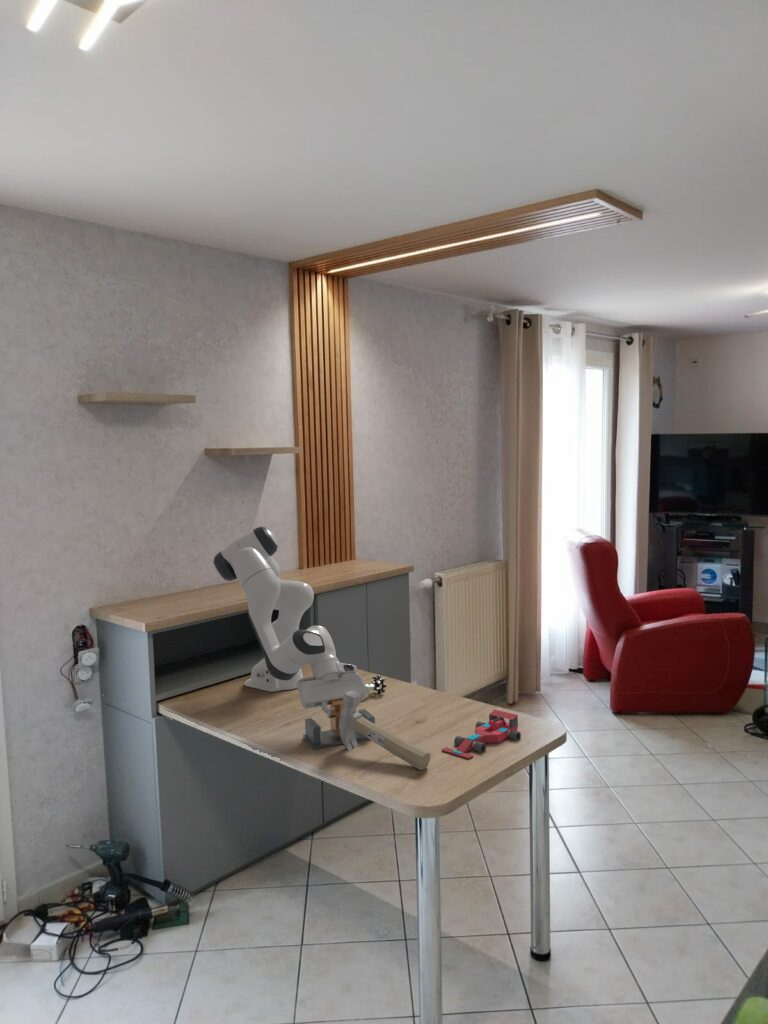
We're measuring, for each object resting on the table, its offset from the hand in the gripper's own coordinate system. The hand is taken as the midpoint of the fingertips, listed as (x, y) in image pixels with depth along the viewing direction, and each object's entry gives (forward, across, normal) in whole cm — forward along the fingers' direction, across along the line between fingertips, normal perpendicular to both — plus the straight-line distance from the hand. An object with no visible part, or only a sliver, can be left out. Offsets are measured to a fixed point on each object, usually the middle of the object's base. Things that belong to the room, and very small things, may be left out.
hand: (339, 715), depth 226 cm
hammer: (+19, +6, -8) cm, 21 cm away
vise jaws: (+4, 0, +5) cm, 7 cm away
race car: (+21, +35, -10) cm, 42 cm away
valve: (-18, +22, +28) cm, 40 cm away
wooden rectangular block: (+3, 0, +4) cm, 5 cm away
